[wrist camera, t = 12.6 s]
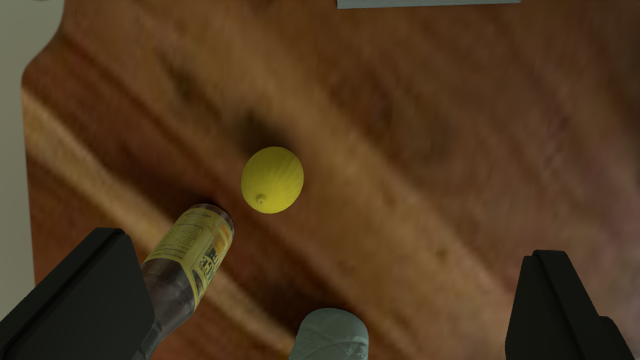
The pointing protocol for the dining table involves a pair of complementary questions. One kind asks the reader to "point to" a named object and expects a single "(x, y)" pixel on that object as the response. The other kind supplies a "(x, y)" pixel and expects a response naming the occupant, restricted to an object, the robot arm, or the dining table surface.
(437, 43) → the dining table surface
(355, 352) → the blue-green cup
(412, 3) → the mat
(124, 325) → the robot arm
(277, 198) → the lemon
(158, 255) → the sauce bottle
